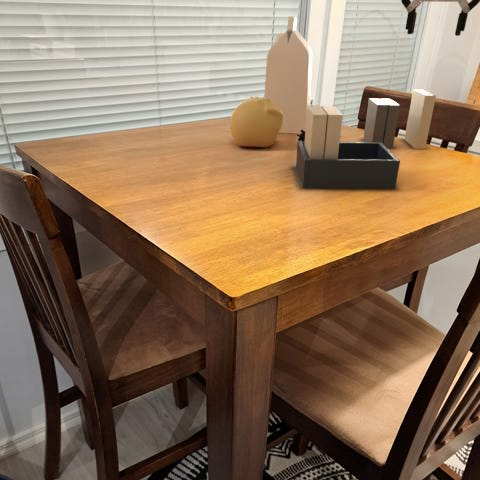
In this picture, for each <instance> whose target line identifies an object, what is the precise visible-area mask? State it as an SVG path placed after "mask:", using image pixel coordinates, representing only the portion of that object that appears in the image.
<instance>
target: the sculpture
mask: <svg viewBox="0 0 480 480" xmlns="http://www.w3.org/2000/svg"><path fill="white" fill-rule="evenodd" d="M282 119H283V113H282V111H281V110H280V109H279V108H278V107H276V105H274V104H273V103H272V102H271V100H270V99H268V98H265V97H264V96H263V97H259V96H250V97H249V98H248V99H246V100H243V101H241V102H240V103H238V104H237V105H236V106H235V108H234V109H233V111H232V113H231V115H230V122H229V129H230V134H231V137H232V139H233V141H234V143H235V144H236V145H238V146H241V147H248V148H249V147H252V148H269V147H271V146H272V145H273V144H274V143H275V141H276V140H277V139H278V135H279V134H280V133H279V130H280V129H281V126H282Z"/></svg>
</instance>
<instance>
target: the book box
mask: <svg viewBox="0 0 480 480" xmlns="http://www.w3.org/2000/svg"><path fill="white" fill-rule="evenodd" d="M296 144H297V146H296V158H295V159H296V160H295V168H296V173H297V175H298V178H299V182H300V185H301V187H302V189H305V190H306V189H307V190H309V189H310V190H312V189H314V190H319V189H320V190H396V187H397V181H398V174H399V170H400V165H401V160H400V159H399V158H398V157H397V156H396V155H395V154H394V153H393V152H392V151H391V150H390V148H387V147H386V146H385V145H384V144H383V143H382V142H363V141H340V142H339V151H338V159H309V158H308V156H307V153H306V151H305V149H304V144H305V142H302V141H297V143H296Z"/></svg>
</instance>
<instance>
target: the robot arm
mask: <svg viewBox="0 0 480 480" xmlns="http://www.w3.org/2000/svg"><path fill="white" fill-rule="evenodd" d="M423 2H431V3H433V2H434V3H435V2H438V3H439V2H443V3H445V2H446V3H447V2H451V3H452V2H453V3H454V2H455V3H456V2H457V3H458V5H459V7H460V8H461V10H460V13H458V18H457V22H456V27H455V32H454V35H455V37H457V36H461V34H462V32H465V29H466V25H467V20H468V15H469V13H470V12H471V11H472V10H473V9H474V8H475V7H476V6H478V5H479V4H480V0H470V1H468V0H412V1H411V0H401V4H402V5H403V6H404V8H405V10H406V12H407V17H406V23H405V30H406V31H407V33H406V34H407V35H413V34H414V33H415V27H416V21H417V16H418V15H417V14H418V12H417V8H418V7H420V5H421V4H422V3H423Z"/></svg>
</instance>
